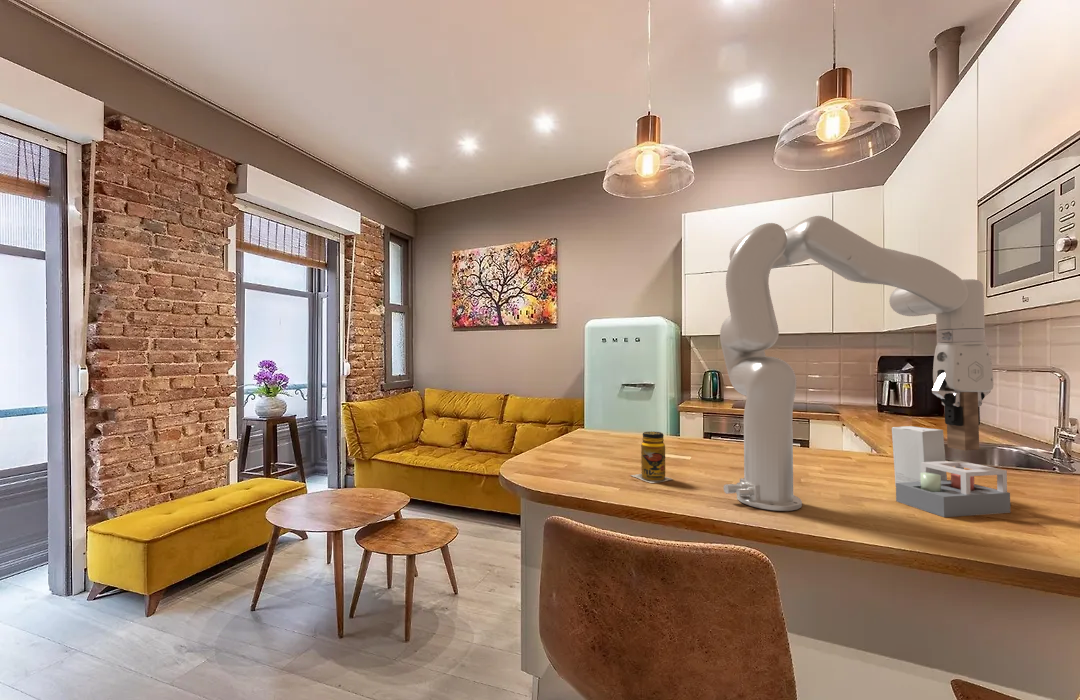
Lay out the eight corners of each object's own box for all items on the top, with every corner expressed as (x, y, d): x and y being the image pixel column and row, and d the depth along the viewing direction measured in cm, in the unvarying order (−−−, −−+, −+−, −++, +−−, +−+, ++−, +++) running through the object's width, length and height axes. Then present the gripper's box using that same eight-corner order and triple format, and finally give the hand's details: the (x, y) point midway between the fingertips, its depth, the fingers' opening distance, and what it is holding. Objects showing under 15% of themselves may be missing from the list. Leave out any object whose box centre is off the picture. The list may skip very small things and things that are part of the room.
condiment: (651, 483, 112) (651, 435, 112) (630, 476, 120) (629, 430, 120) (673, 480, 116) (673, 433, 116) (651, 472, 123) (650, 428, 123)
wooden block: (965, 450, 93) (963, 383, 94) (947, 447, 97) (945, 382, 97) (979, 449, 94) (977, 382, 94) (961, 446, 97) (959, 382, 98)
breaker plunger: (964, 493, 93) (964, 477, 93) (946, 488, 97) (946, 473, 97) (979, 492, 94) (979, 477, 94) (960, 487, 97) (960, 472, 97)
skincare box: (948, 495, 103) (947, 430, 103) (925, 496, 102) (924, 430, 102) (913, 485, 111) (912, 424, 111) (891, 486, 110) (890, 425, 110)
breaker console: (944, 517, 88) (943, 474, 89) (896, 501, 98) (895, 462, 98) (1010, 512, 91) (1009, 471, 91) (957, 497, 101) (956, 460, 101)
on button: (932, 494, 92) (931, 476, 92) (916, 490, 95) (916, 472, 95) (945, 494, 93) (944, 476, 93) (929, 489, 96) (929, 472, 96)
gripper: (946, 337, 91) (948, 428, 90) (1012, 337, 93) (1015, 426, 93) (909, 339, 98) (911, 423, 98) (972, 339, 101) (974, 421, 101)
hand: (962, 423), depth 95 cm, fingers closed on wooden block, 3 cm apart
